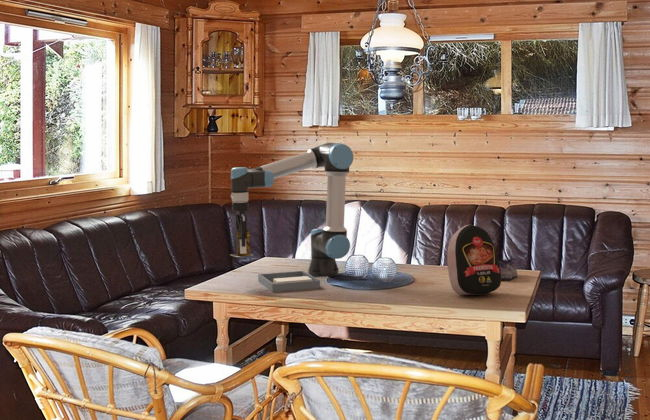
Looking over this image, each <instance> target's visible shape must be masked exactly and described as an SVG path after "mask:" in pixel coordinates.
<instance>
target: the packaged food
mask: <svg viewBox="0 0 650 420" xmlns="http://www.w3.org/2000/svg"><path fill="white" fill-rule="evenodd" d="M446 255H447V257H446V258H447V261H446V262H447V270H448V271H447V272H448V277H449V283H450V287H451V288H452V290H453V292H454V293H455V294H457V295H459V296H472V295H473V296H475V295H477V296H478V295H480V296H481V295H487V294H489V293H493V292H495V291H496V290H498V289H499V288H500V286H501V284H502V280H501V271H500V264H499V261H500V260H499V257H498V253H497V250H496V247H495V244H494V241H493V240H492V238H491V236H490V234H489V233H488V232H487V231H486V230H485V229H484V228H482V227H481V226H480V227H479V226H478V225H474V224H465V225H463V226H462V227H460V228H459V229H458V230H457V231H456V232H455V233H454V234H453V235H452V237H451V238H450V239H449V243H448V247H447V254H446Z"/></svg>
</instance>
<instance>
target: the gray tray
mask: <svg viewBox="0 0 650 420" xmlns="http://www.w3.org/2000/svg"><path fill="white" fill-rule="evenodd" d="M302 276H308V277H309V278H311V279H312V281H302V282H290V283H277V284H274V283H273V279H275V278H288V277H302ZM257 278H258V279H257V280H258V281H257V282H258V283H259V284H261V285H262V286H263V287H265V288H266V289H267V290H269V291H270V292H271V293H279V292H291V291H292V292H294V291H304V290H305V291H306V290H317V289H320V288H321V280H320V279H318V278H317V277H313V276H311V275H310V274H308V272H306V271H304V270H298V271H297V270H295V271H283V272H282V271H281V272H269V273H268V272H267V273H258V274H257Z"/></svg>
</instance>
